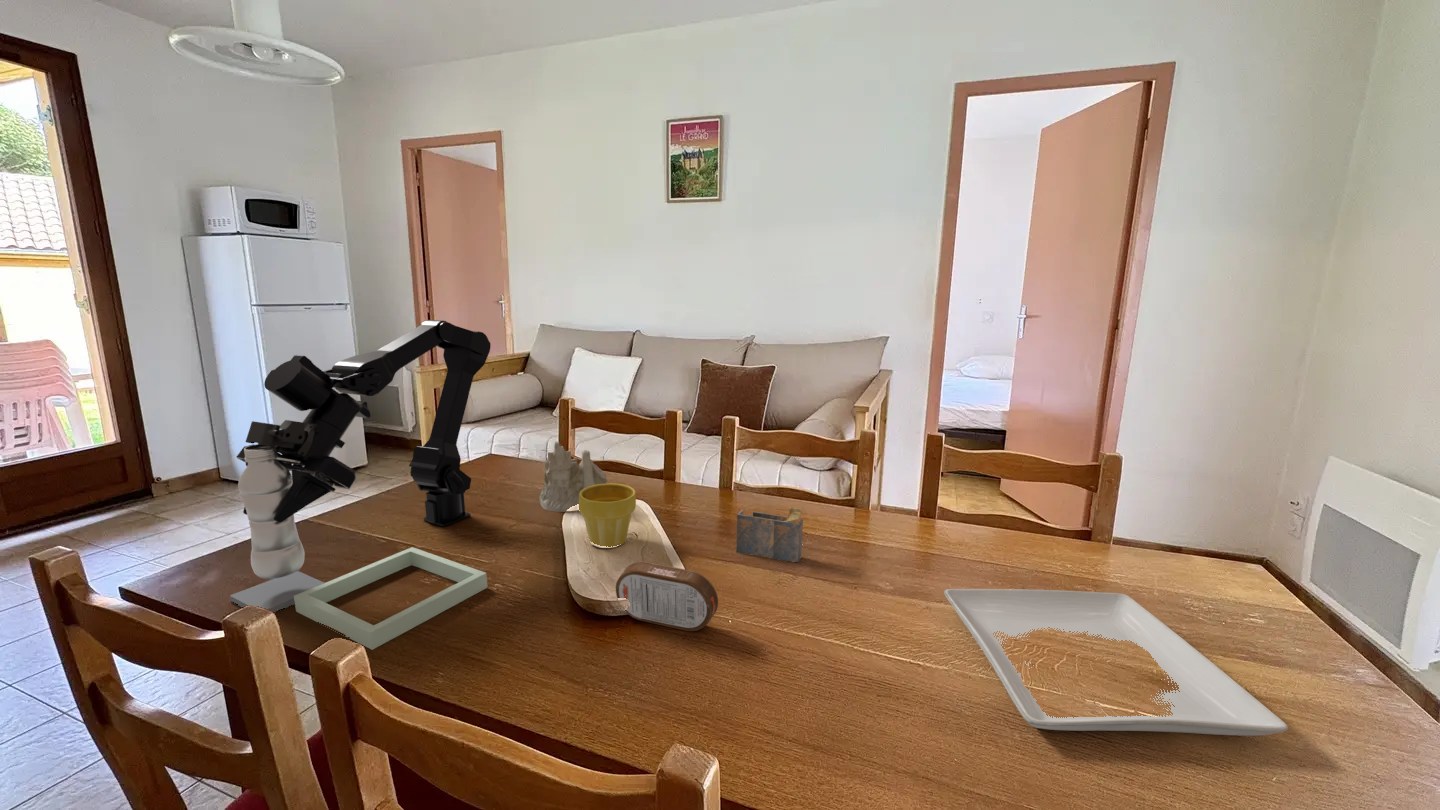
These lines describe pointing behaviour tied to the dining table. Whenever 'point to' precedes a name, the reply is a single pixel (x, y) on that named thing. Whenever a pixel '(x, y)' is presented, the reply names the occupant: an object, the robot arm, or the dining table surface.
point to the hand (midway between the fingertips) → (261, 517)
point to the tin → (667, 596)
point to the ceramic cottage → (567, 479)
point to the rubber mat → (276, 591)
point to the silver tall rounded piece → (269, 514)
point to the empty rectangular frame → (376, 635)
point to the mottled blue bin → (771, 535)
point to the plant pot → (607, 512)
